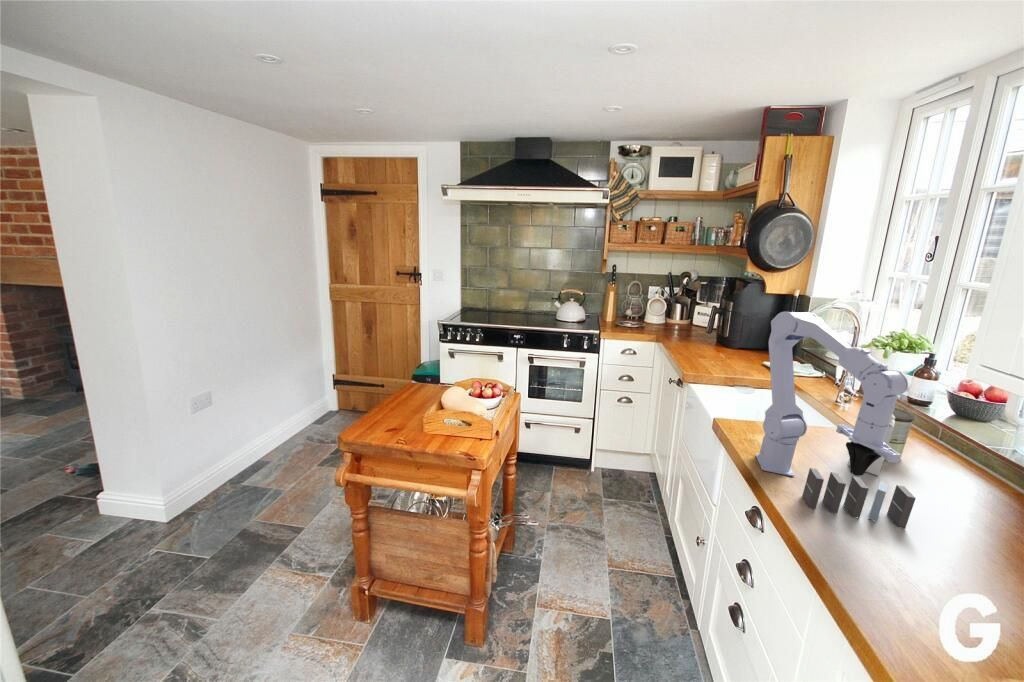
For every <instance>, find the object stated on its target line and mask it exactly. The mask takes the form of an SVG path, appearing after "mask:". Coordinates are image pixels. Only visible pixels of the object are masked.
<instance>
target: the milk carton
mask: <svg viewBox="0 0 1024 682" xmlns="http://www.w3.org/2000/svg"><path fill="white" fill-rule="evenodd" d="M894 419H895V416H894V415H893V414H892V417H891V421H890V424H889V427H888V430H887V433H886V436H885V439H884V443H885V444H887V445H888V444H889V441H890V438H891V435H892V432H893V428H894V424H895V420H894ZM884 461H885V460H884V457H882V456H881V457H880V458H878V459H877V460H875V461H874V462H873V463H872V464H871V465H870V466H869V467H868V469H867V470H866V471H865V473H869V474H871V475H873V476H874V475H875V476H879V475H880V472H881V469H882V465H883V464H884V463H883V462H884ZM847 466H848V467H850V458H849V460H848V463H847Z"/></svg>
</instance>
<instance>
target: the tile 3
mask: <svg viewBox="0 0 1024 682" xmlns="http://www.w3.org/2000/svg"><path fill="white" fill-rule="evenodd" d="M868 492H869V487H868V485H866V483H865V482H864V481H863V480H862V478H861V477H859V476H855V475H854V476H853V475H852V476H851V478H850V483H849V486H848V489H847V493H846V495H845V499H844V502H843V506H844V505H845V506H844V508H845V507H846V508H847V509H846V508H845V509H846V511H847V510H848V511H847V512H848V513H849V515H850V514H851V515H850V516H851V517H852V518H854V517H858V518H857V519H860V518H861V515H862V511H863V507H864V506H865V502H866V499H867V496H868Z"/></svg>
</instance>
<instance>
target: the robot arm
mask: <svg viewBox="0 0 1024 682" xmlns="http://www.w3.org/2000/svg"><path fill="white" fill-rule="evenodd" d="M770 327H771V328H770V329H771V332H770V334H769V338H768V355H769V368H770V369H769V371H770V373H769V374H770V387H771V401H772V404H771V405H770V406H769V407H768V408H767V409H766V410H765V411H764V420H763V421H762V422H763V424H762V429H763V431H764V436H763V438H762V441H761V446H760V451H759V453H755V458H756V459H757V462H758V464H759V466H760V468H761V470H762V471H765V472H769V473H775V474H779V475H784V476H790V477H795V476H796V475H795V473H794V471H793V470H792V462H793V460H794V459H793V458H794V456H795V451H796V447H797V444H798V441H799V440H800V438H801V437H804V435H806V433H807V432H808V431H807V430H808V424H807V421H806V420H805V418H804V414H803V413H804V412H803V409H801V408H800V407H799V406H798V405H797V402H796V389H795V371H794V360H793V355H794V354H793V348H794V346H796V344H797V343H799V342H800V341H802V340H803V339H805V338H812V339H813V340H815V341H816V342H818V343H819V344H821V345H822V346H823V347H824V348H826V349H827V350H829V351H830V352H832V354H835V356H837V358H838V364H839V365H840V366H841V367H842V368H843V369H844V370H846V371H847V372H848V373H849V374H850V375H851V376H852V377H853V378H855V379H856V380H858V381H859V382H860V385H861V389H862V392H863V395H862V401H861V404H860V407H859V411H858V414H857V417H856V420H855V424H854V427H850V426H849V425H846V424H837V427H836V429H835V430H836V431H835V432H837V433H838V434H842V435H843V436H846V437H847V438H848V440H849V441H847V442H846V443H845V447H846V449H847V452H848V455H849V459H850V466H849V467H850V468H849V469H850V471H849V472H850V473H851V474H852V475H854V476H855V477H859V476H863V475H864V474H865V473H866V472H865V471H866V470H867V469H868V467H869V466H870V465H871V464H872V463H873V462H874V461H875V460H877V459H878V458H880V457H881V456H882V457H884V458H886V459H887V460H886V461H887V462H889V463H895V464H896V463H899V462H900V460H899V459H900V456H901V457H902V455H900V454H899V453H897V452H895V451H894V450H893V449H892V448H890V447H889V446H888V445H887V444H885V443H884V439H885V436H886V433H887V430H888V427H889V424H890V421H891V417H892V414H893V411H894V408H896V404H897V402H898V398H899V396H900V395H902V394H904V393H905V392H906V391H907V390H908V387H909V383H908V379H907V377H906V376H905V375H904V374H903V372H901V370H897V369H889V368H888V367H889V366H888V365H887V364H885V363H881V362H880V361H879V360H877V359H876V357H873V356H872V355H871V354H870V353H871V351H870V350H869V349H868V348H862V347H860V346H859V347H858V346H855V347H852V346H850V344H848V343H847V342H846V341H845V340H844V339H842V338H841V336H839V335H838V334H837V333H836V332H835V331H834V330H833V329H831V328H830V327H829V326H828V325H827V324H826V323H825V322H824V319H823V318H822V317H819V316H818V315H817V314H816V313H814V312H811V311H804V312H801V311H800V312H798V311H795V312H793V311H781V312H779V313H777V314H776V315H775V317H773V318H772V320H771V321H770Z"/></svg>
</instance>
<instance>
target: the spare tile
mask: <svg viewBox="0 0 1024 682" xmlns="http://www.w3.org/2000/svg"><path fill="white" fill-rule="evenodd" d="M888 485H889V484H888V483H886V482H883V481H879V483H878V486H877V489H876V492H875V495H874V499H873V502H872V505H871V509H870V511H869V515H868V518H869V519H872V520H874V521H878V519H879V515H880V513H881V512H880V511H881V510H882V506H883V504H884V499H885V496H886V494H887V490H888V487H889V486H888ZM869 519H868V520H869ZM872 520H871V521H872ZM874 521H873V522H874Z"/></svg>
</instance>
